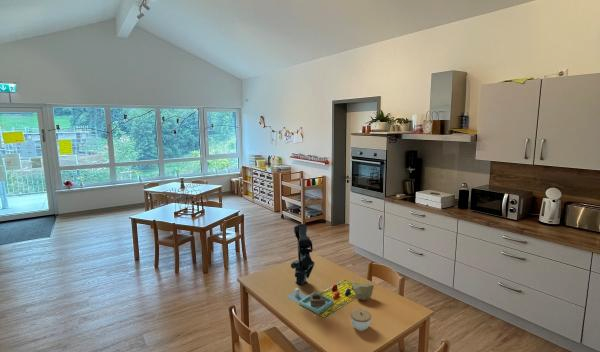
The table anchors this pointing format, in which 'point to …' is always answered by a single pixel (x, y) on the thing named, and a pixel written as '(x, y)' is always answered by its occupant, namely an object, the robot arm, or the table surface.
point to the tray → (317, 310)
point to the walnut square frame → (316, 300)
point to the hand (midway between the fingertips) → (304, 281)
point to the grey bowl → (362, 290)
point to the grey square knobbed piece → (296, 295)
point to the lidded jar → (360, 319)
